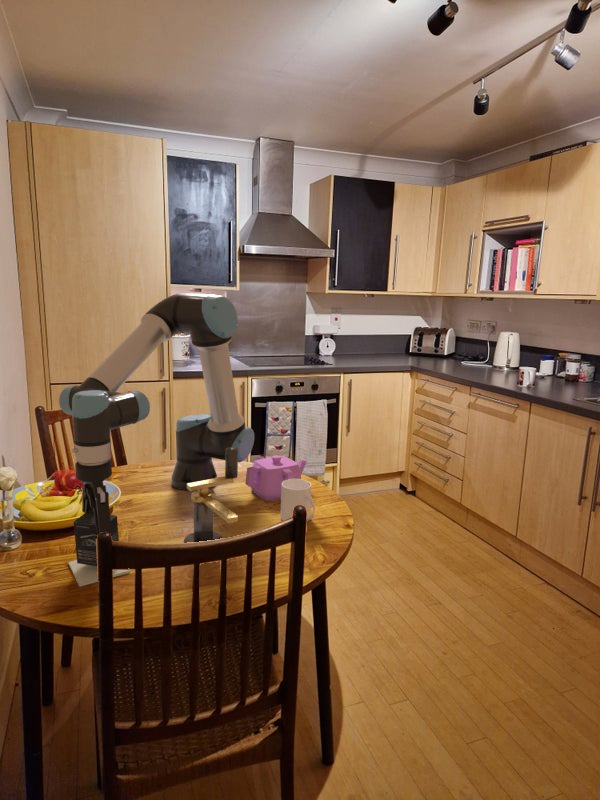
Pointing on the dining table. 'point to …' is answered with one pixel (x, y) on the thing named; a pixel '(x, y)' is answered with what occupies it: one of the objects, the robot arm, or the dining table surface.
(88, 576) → the pad
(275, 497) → the teakettle
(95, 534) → the box
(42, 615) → the dining table surface
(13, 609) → the dining table surface
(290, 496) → the mug
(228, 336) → the robot arm
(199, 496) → the crank
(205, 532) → the post
